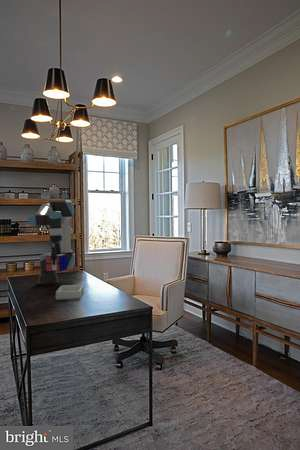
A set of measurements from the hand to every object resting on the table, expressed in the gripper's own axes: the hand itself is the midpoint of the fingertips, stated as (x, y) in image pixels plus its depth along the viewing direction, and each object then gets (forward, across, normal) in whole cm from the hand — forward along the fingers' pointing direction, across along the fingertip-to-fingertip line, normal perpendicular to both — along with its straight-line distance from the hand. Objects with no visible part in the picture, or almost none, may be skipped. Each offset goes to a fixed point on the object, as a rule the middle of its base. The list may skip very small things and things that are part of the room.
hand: (56, 268), depth 217 cm
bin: (+18, -1, +8) cm, 20 cm away
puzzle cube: (+1, 0, 0) cm, 1 cm away
